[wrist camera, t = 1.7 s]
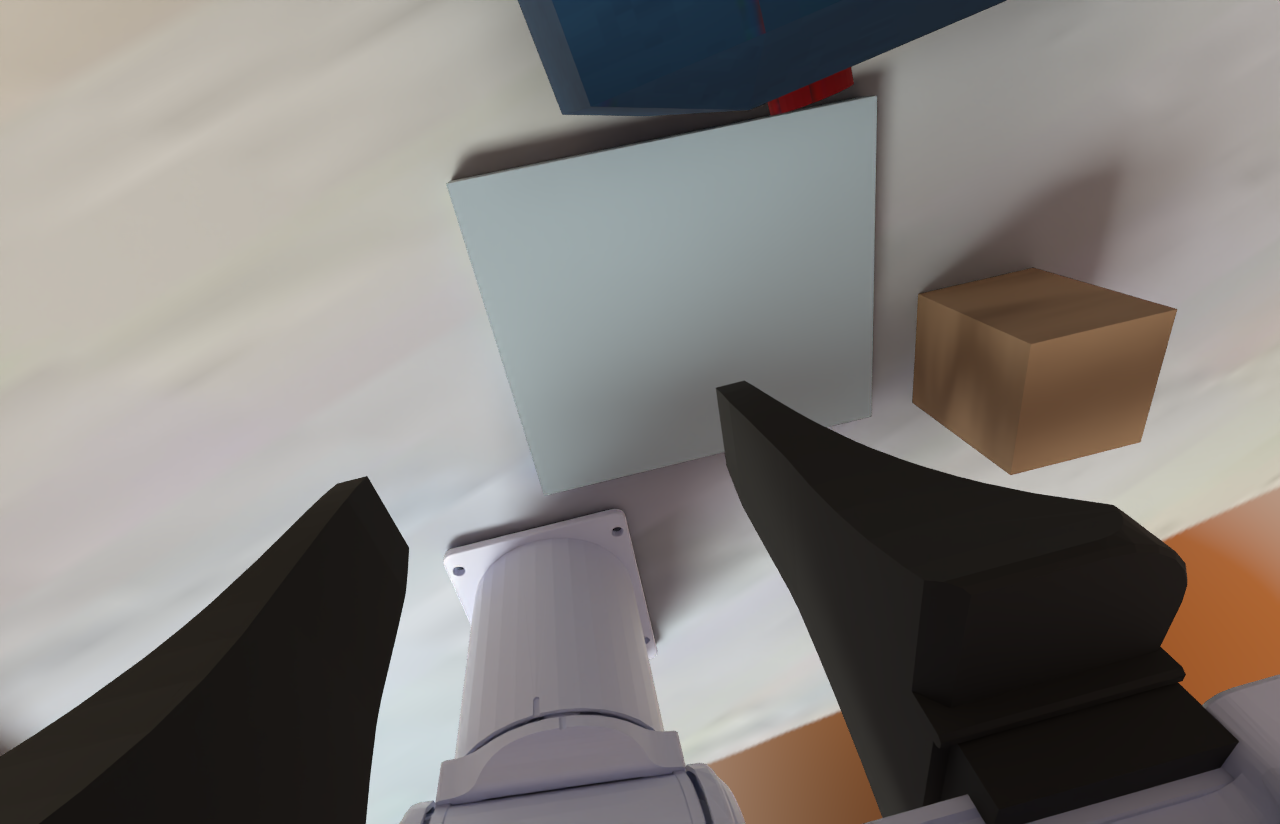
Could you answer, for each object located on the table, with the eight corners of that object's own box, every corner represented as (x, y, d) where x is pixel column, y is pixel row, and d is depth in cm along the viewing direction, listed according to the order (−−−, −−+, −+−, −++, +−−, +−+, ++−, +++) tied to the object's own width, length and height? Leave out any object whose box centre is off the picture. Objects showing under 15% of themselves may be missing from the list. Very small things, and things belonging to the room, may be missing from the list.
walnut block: (1016, 376, 26) (1140, 442, 21) (911, 402, 26) (1010, 475, 20) (1032, 267, 24) (1177, 309, 18) (917, 293, 23) (1030, 344, 18)
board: (859, 406, 25) (871, 416, 24) (543, 482, 24) (544, 495, 23) (861, 96, 19) (877, 95, 19) (450, 180, 19) (446, 183, 18)
